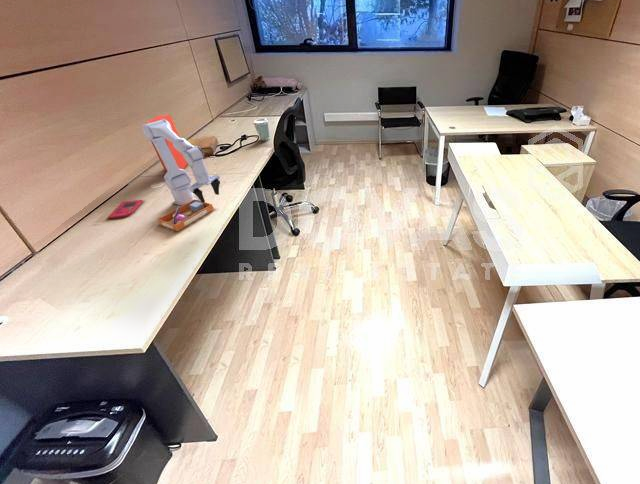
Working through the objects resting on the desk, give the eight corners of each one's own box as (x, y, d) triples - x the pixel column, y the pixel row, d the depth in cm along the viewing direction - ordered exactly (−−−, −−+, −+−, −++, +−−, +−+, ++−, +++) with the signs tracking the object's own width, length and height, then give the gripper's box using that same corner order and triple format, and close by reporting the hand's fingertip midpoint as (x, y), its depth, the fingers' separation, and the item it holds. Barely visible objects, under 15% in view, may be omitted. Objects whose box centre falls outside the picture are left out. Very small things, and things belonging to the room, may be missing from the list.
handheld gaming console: (106, 216, 156) (122, 201, 169) (108, 219, 157) (123, 203, 169) (128, 214, 158) (142, 199, 170) (129, 216, 159) (143, 201, 171)
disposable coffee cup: (269, 141, 244) (264, 122, 236) (255, 141, 244) (250, 122, 236) (274, 136, 253) (269, 118, 245) (260, 136, 253) (255, 118, 245)
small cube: (191, 211, 161) (188, 205, 159) (198, 207, 165) (196, 201, 162) (198, 213, 160) (195, 207, 158) (205, 209, 163) (202, 203, 161)
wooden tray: (159, 225, 152) (156, 219, 150) (197, 204, 167) (194, 199, 166) (177, 231, 148) (174, 225, 146) (214, 210, 163) (212, 204, 161)
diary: (214, 154, 224) (211, 146, 221) (184, 158, 219) (181, 150, 215) (218, 143, 242) (216, 135, 239) (190, 146, 237) (188, 139, 234)
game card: (176, 204, 154) (172, 215, 147) (189, 206, 157) (185, 216, 150) (176, 216, 157) (171, 226, 150) (188, 217, 160) (184, 227, 153)
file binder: (166, 174, 198) (143, 124, 180) (176, 163, 212) (156, 115, 195) (180, 173, 199) (159, 123, 182) (189, 162, 213) (170, 114, 196)
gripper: (191, 181, 140) (201, 207, 147) (220, 168, 151) (228, 192, 158) (181, 178, 143) (192, 203, 150) (210, 165, 153) (219, 189, 161)
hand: (210, 197), depth 154 cm, fingers open, 7 cm apart
